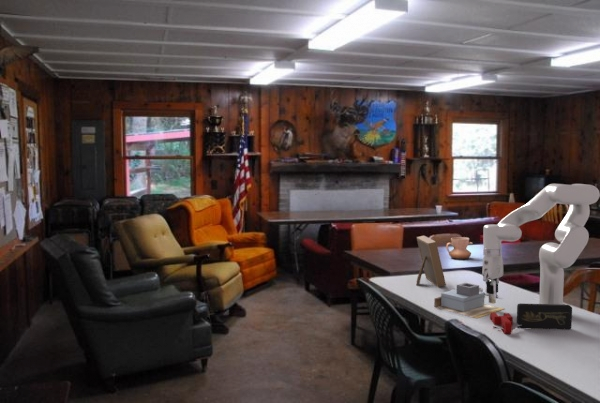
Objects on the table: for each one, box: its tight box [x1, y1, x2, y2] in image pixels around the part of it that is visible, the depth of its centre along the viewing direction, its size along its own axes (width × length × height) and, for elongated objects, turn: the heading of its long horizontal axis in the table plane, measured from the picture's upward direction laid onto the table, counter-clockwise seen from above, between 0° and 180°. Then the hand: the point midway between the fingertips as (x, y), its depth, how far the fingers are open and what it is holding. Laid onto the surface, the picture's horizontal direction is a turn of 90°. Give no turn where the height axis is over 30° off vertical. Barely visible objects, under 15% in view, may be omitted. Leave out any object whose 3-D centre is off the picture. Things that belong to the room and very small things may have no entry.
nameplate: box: [516, 302, 573, 331], centre depth 214 cm, size 21×2×10 cm, turn 84°
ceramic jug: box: [445, 236, 473, 260], centre depth 363 cm, size 18×14×14 cm
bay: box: [433, 296, 505, 321], centre depth 238 cm, size 22×22×6 cm
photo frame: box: [416, 235, 447, 288], centre depth 292 cm, size 15×22×25 cm
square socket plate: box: [440, 282, 486, 312], centre depth 240 cm, size 12×16×10 cm
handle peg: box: [488, 280, 497, 304], centre depth 235 cm, size 3×3×10 cm
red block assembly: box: [489, 312, 514, 335], centre depth 214 cm, size 16×7×5 cm, turn 173°
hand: (492, 292), depth 235 cm, fingers closed on handle peg, 2 cm apart
